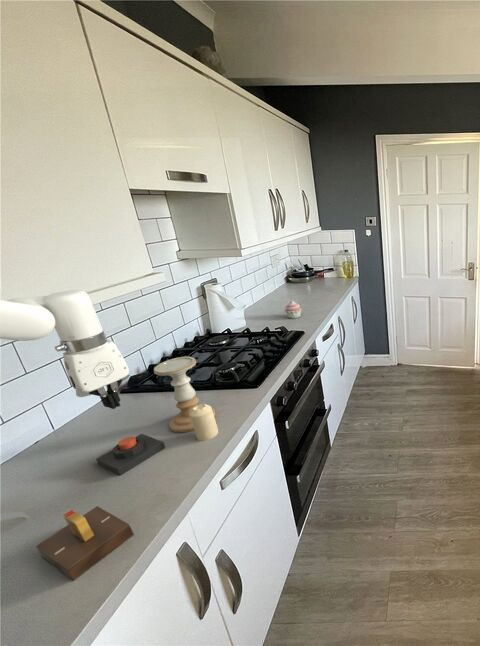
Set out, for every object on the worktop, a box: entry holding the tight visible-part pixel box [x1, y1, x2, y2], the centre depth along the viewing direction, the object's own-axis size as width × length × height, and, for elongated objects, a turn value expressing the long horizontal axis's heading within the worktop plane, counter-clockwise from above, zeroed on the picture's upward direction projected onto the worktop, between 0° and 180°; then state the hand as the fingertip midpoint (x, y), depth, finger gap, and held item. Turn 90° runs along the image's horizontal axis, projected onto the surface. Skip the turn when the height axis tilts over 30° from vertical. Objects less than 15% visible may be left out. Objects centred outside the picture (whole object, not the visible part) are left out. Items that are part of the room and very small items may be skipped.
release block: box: [95, 433, 166, 477], centre depth 95 cm, size 11×10×4 cm
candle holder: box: [153, 356, 216, 434], centre depth 106 cm, size 12×12×20 cm
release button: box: [117, 435, 137, 450], centre depth 94 cm, size 4×4×2 cm
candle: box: [189, 403, 219, 442], centre depth 101 cm, size 6×6×10 cm
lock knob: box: [63, 509, 94, 542], centre depth 69 cm, size 5×2×5 cm, turn 66°
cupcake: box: [284, 300, 303, 320], centre depth 198 cm, size 9×9×10 cm
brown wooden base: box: [35, 506, 135, 581], centre depth 71 cm, size 10×12×3 cm
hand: (113, 406), depth 90 cm, fingers closed
